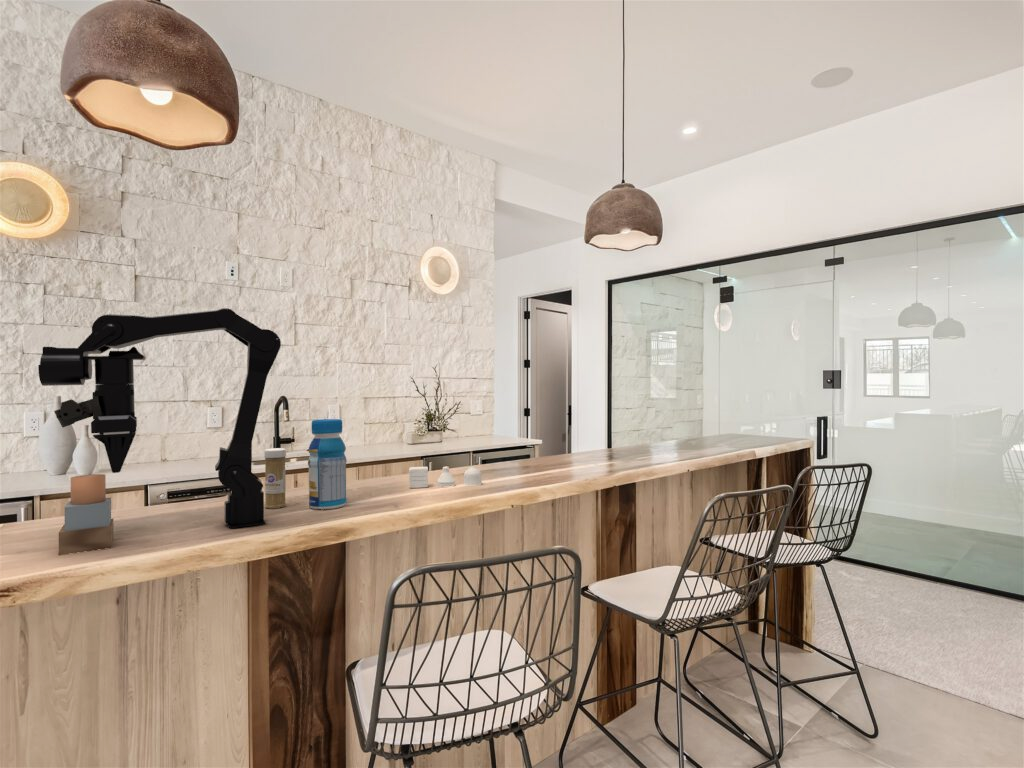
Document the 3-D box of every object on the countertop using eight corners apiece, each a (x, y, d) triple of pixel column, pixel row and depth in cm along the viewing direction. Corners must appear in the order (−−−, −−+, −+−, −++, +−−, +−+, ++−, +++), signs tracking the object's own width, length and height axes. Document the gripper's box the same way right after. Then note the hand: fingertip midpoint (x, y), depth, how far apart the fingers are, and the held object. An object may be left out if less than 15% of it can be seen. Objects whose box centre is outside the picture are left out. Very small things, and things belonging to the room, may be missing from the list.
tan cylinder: (106, 498, 98) (106, 473, 98) (104, 502, 94) (104, 476, 94) (72, 501, 95) (72, 476, 95) (69, 506, 91) (68, 479, 91)
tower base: (113, 540, 99) (113, 518, 99) (111, 549, 94) (111, 526, 94) (64, 547, 95) (64, 524, 96) (58, 556, 90) (58, 532, 90)
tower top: (111, 519, 99) (111, 497, 99) (109, 525, 94) (109, 502, 94) (68, 524, 95) (68, 501, 95) (64, 531, 90) (64, 507, 91)
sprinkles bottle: (262, 509, 123) (262, 450, 123) (267, 505, 127) (267, 448, 128) (284, 508, 124) (283, 449, 124) (288, 504, 128) (287, 447, 128)
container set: (409, 489, 147) (409, 469, 147) (410, 486, 152) (409, 466, 152) (483, 486, 150) (482, 466, 150) (481, 483, 155) (481, 464, 155)
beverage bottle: (335, 511, 120) (334, 420, 121) (300, 509, 122) (299, 420, 122) (353, 503, 129) (352, 418, 129) (321, 502, 130) (320, 418, 131)
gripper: (64, 386, 103) (66, 469, 103) (50, 384, 87) (52, 481, 87) (135, 385, 109) (137, 463, 109) (134, 383, 94) (137, 473, 93)
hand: (117, 469), depth 99 cm, fingers open, 9 cm apart
